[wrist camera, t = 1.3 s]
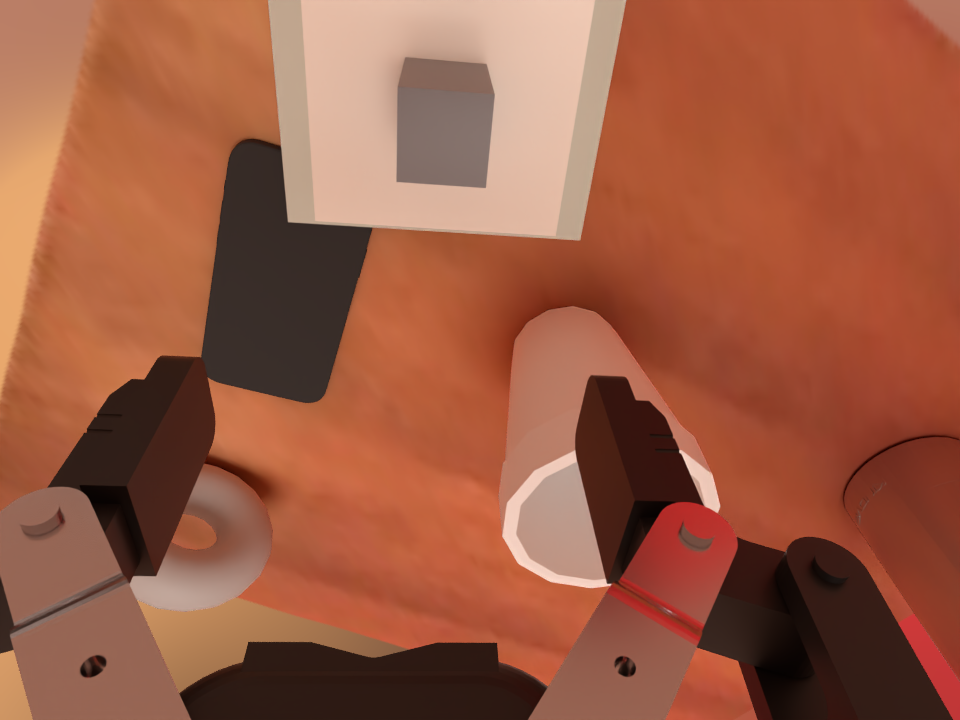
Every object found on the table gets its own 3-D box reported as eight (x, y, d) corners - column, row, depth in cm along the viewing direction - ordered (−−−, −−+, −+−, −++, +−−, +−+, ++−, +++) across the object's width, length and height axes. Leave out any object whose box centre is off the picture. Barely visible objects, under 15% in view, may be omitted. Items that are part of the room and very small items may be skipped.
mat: (633, -55, 27) (636, -54, 26) (578, 235, 34) (580, 240, 34) (263, -93, 25) (259, -93, 25) (290, 217, 33) (287, 222, 32)
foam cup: (597, 252, 35) (665, 404, 24) (668, 364, 39) (751, 533, 29) (455, 338, 37) (459, 508, 27) (536, 433, 42) (568, 610, 31)
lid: (598, -43, 26) (635, -31, 21) (553, 229, 33) (573, 288, 28) (300, -74, 25) (262, -69, 20) (317, 214, 32) (293, 273, 27)
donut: (294, 481, 44) (260, 612, 35) (276, 511, 45) (239, 644, 37) (144, 427, 40) (67, 559, 32) (130, 462, 42) (54, 596, 34)
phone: (197, 378, 38) (230, 134, 30) (201, 369, 38) (234, 129, 30) (322, 407, 40) (385, 185, 31) (324, 399, 40) (386, 179, 32)
